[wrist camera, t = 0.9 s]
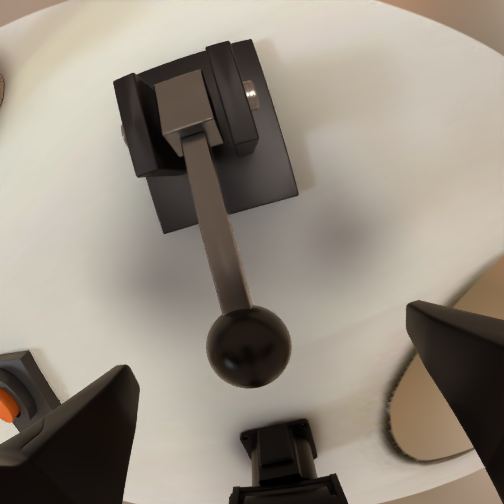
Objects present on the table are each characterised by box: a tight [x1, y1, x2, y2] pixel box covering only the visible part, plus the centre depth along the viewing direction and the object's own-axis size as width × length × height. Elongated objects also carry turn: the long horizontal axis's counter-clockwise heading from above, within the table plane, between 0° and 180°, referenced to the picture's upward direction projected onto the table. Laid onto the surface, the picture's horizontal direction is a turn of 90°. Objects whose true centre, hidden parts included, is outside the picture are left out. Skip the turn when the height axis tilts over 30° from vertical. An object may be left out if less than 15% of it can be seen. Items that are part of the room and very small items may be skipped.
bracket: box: [113, 39, 299, 234], centre depth 15 cm, size 11×9×9 cm
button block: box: [0, 351, 61, 432], centre depth 23 cm, size 12×10×4 cm
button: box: [0, 388, 20, 423], centre depth 20 cm, size 4×4×2 cm
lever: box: [154, 69, 291, 388], centre depth 12 cm, size 13×3×3 cm, turn 16°
